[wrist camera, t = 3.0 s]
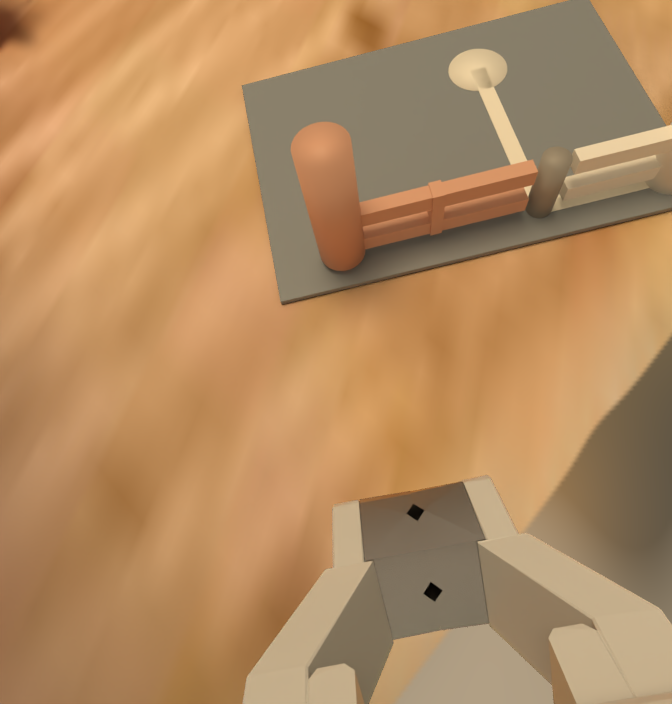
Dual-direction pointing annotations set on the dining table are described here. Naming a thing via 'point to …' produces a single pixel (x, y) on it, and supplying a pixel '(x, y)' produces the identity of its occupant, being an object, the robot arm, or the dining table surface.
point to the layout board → (452, 135)
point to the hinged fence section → (391, 198)
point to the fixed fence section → (603, 169)
